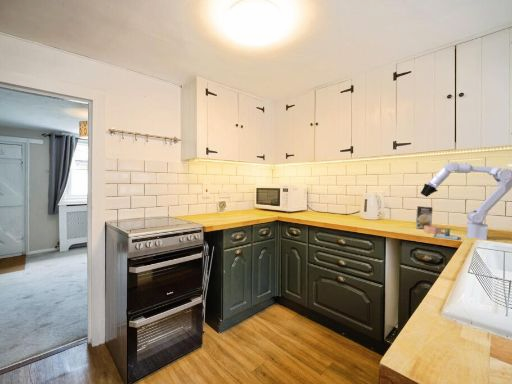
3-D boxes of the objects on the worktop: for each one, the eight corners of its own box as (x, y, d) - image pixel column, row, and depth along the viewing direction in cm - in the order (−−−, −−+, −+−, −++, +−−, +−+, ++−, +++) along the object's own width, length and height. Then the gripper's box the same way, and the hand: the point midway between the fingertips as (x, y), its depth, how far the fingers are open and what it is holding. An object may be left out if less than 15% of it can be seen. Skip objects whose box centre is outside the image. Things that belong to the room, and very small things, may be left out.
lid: (458, 237, 152) (458, 229, 151) (457, 239, 144) (457, 231, 144) (437, 234, 158) (438, 227, 158) (436, 237, 151) (436, 229, 151)
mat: (461, 237, 151) (461, 237, 151) (460, 241, 142) (460, 240, 142) (435, 234, 160) (435, 234, 160) (432, 237, 151) (432, 236, 151)
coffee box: (416, 228, 180) (417, 206, 180) (415, 227, 186) (416, 206, 185) (431, 230, 176) (432, 207, 175) (430, 228, 181) (431, 207, 181)
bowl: (441, 233, 165) (441, 226, 165) (440, 235, 159) (440, 228, 158) (425, 231, 171) (425, 224, 171) (423, 233, 165) (423, 226, 164)
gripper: (430, 174, 168) (415, 189, 173) (437, 176, 155) (420, 193, 159) (439, 180, 167) (424, 196, 171) (447, 182, 153) (430, 199, 158)
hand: (423, 195), depth 165 cm, fingers open, 7 cm apart
